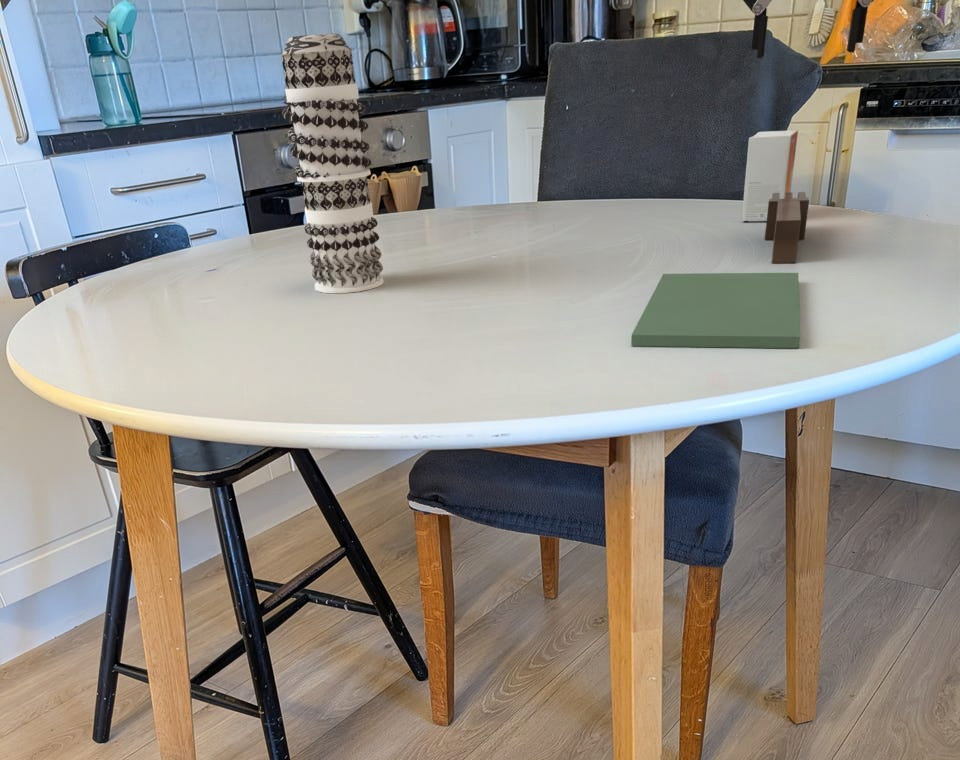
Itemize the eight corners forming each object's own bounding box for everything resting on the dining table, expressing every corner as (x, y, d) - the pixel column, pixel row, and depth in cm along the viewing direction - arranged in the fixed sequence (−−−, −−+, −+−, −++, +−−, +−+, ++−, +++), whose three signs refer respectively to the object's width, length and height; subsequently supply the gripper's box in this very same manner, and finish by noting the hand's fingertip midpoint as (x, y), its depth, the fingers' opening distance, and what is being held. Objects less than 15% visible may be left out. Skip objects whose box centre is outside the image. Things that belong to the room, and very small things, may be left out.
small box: (781, 222, 121) (791, 135, 115) (740, 222, 123) (748, 137, 117) (789, 212, 127) (799, 129, 121) (749, 212, 129) (757, 131, 123)
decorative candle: (304, 296, 102) (260, 38, 88) (318, 279, 110) (280, 39, 96) (381, 291, 101) (349, 30, 88) (390, 274, 109) (362, 32, 95)
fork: (805, 263, 99) (811, 219, 97) (761, 263, 100) (766, 220, 98) (803, 229, 116) (808, 191, 113) (765, 230, 117) (769, 193, 114)
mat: (798, 348, 73) (800, 336, 72) (631, 346, 77) (631, 334, 76) (797, 282, 92) (798, 272, 91) (662, 283, 96) (663, 273, 95)
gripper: (740, -142, 88) (723, 61, 97) (927, -165, 83) (891, 50, 93) (743, -132, 94) (727, 58, 103) (918, -153, 89) (884, 48, 99)
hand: (804, 54), depth 98 cm, fingers open, 9 cm apart
